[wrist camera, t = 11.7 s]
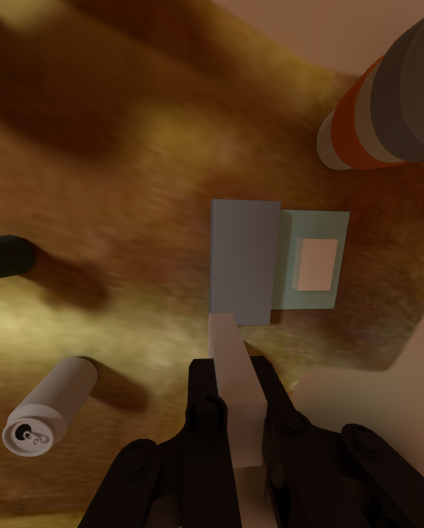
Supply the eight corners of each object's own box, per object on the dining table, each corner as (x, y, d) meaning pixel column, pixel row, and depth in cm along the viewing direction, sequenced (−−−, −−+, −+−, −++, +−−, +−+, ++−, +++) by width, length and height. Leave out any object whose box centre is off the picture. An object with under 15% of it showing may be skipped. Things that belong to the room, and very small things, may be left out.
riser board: (211, 201, 33) (213, 199, 29) (271, 203, 34) (281, 201, 30) (208, 314, 37) (210, 325, 33) (261, 313, 38) (269, 324, 34)
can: (67, 347, 36) (6, 408, 25) (106, 363, 38) (67, 428, 26) (51, 379, 37) (-15, 451, 26) (90, 393, 39) (44, 469, 27)
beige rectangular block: (338, 239, 34) (330, 238, 36) (303, 238, 33) (297, 237, 35) (329, 290, 36) (322, 286, 38) (297, 290, 35) (291, 286, 37)
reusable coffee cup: (373, 181, 34) (506, 153, 20) (302, 183, 33) (386, 155, 19) (385, 95, 32) (548, -11, 17) (307, 95, 31) (410, -17, 16)
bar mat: (270, 209, 34) (271, 209, 34) (348, 211, 35) (350, 211, 35) (262, 308, 38) (262, 309, 38) (333, 307, 39) (334, 308, 39)
